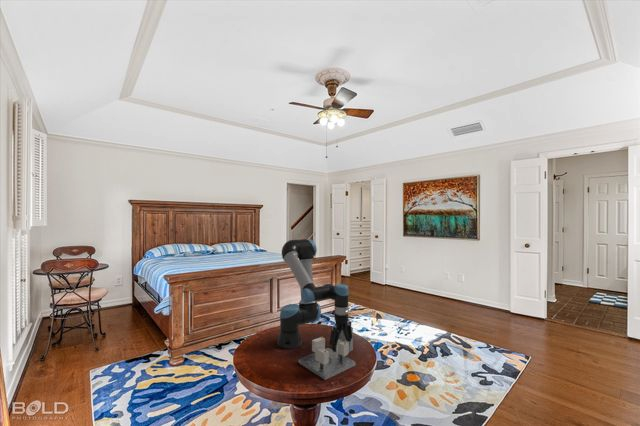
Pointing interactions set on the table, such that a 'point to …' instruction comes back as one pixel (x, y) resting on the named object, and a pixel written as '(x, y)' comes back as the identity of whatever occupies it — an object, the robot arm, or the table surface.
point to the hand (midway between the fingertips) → (341, 354)
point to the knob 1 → (322, 356)
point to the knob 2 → (342, 349)
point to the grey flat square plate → (327, 365)
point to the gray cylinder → (342, 338)
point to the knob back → (318, 343)
